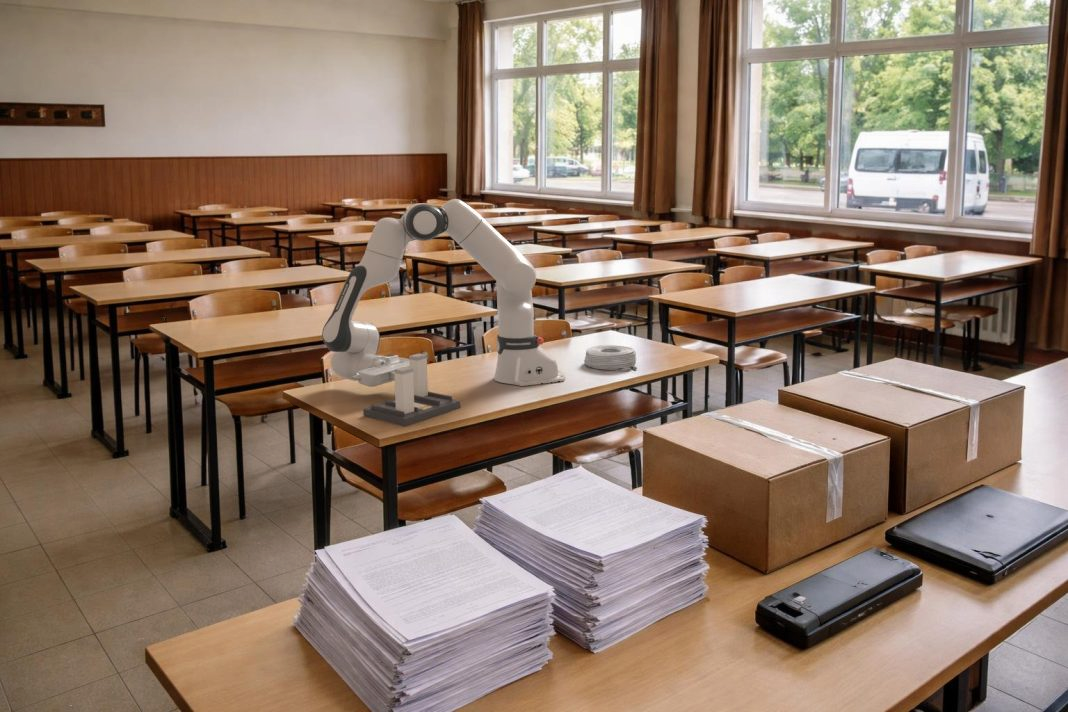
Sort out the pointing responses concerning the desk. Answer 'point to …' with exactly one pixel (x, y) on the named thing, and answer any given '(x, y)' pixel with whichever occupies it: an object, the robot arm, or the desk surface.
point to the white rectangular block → (404, 389)
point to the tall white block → (419, 374)
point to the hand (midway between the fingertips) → (408, 376)
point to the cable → (611, 357)
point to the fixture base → (422, 409)
